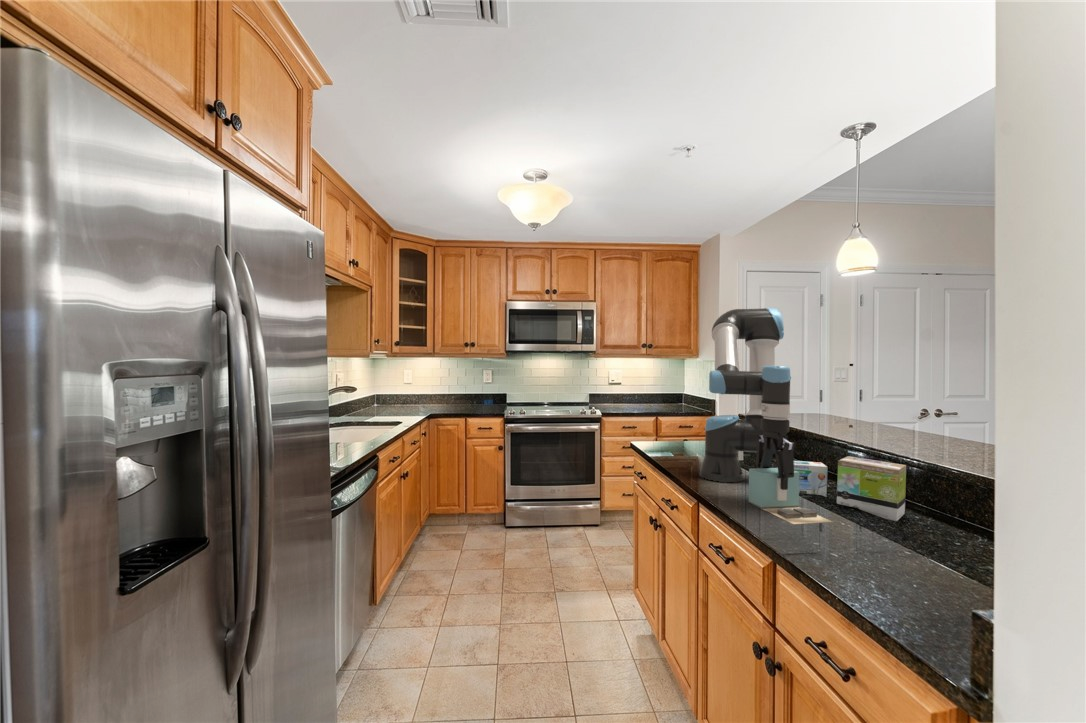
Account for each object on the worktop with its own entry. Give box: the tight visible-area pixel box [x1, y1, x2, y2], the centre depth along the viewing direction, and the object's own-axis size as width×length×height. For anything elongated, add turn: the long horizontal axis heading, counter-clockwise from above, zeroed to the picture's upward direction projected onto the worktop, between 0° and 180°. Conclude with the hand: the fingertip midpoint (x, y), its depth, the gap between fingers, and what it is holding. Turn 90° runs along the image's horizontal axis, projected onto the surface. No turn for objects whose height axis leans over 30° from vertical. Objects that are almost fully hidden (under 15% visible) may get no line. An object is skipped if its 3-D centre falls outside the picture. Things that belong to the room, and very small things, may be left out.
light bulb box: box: [794, 460, 828, 498], centre depth 151 cm, size 11×7×11 cm, turn 74°
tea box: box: [836, 455, 907, 522], centre depth 135 cm, size 15×10×15 cm
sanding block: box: [748, 467, 800, 510], centre depth 135 cm, size 6×12×10 cm, turn 101°
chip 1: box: [777, 509, 801, 519], centre depth 126 cm, size 4×4×1 cm
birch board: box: [760, 507, 834, 525], centre depth 129 cm, size 18×12×2 cm, turn 11°
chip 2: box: [793, 507, 818, 518], centre depth 127 cm, size 4×4×1 cm
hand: (773, 496), depth 135 cm, fingers closed on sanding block, 6 cm apart
